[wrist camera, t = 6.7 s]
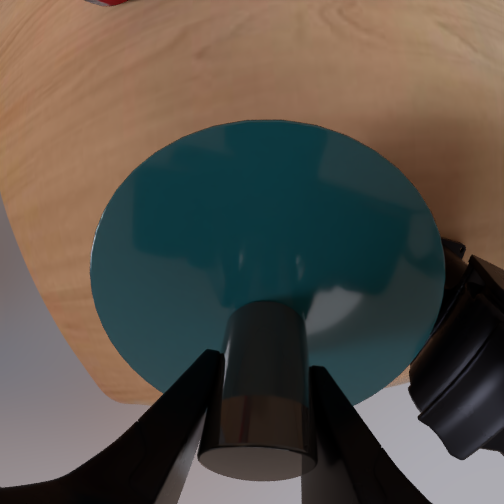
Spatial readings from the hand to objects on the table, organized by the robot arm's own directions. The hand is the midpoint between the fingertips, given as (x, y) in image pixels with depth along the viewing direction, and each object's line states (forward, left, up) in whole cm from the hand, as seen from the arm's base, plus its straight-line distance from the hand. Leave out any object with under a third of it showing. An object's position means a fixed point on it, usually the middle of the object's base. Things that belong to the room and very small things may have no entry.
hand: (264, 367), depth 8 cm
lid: (0, 0, -2) cm, 2 cm away
